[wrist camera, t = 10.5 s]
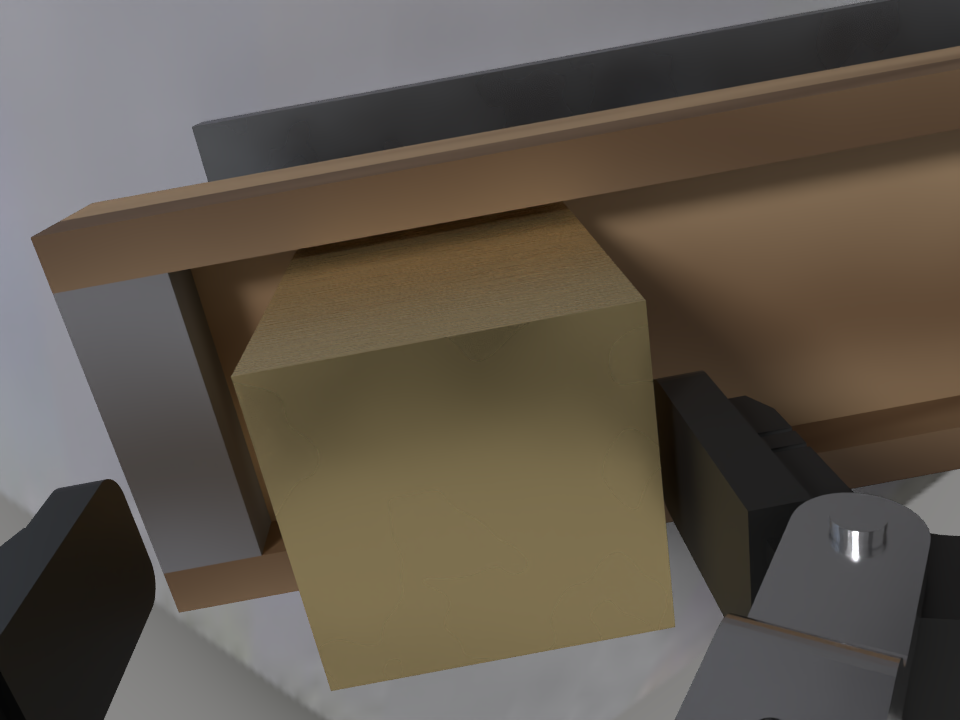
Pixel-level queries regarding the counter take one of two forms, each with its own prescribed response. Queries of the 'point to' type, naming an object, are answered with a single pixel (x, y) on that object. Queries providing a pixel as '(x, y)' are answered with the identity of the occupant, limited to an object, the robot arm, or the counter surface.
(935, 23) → the pivot stand
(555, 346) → the brass block
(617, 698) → the counter surface
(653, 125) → the seesaw beam
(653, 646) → the counter surface
